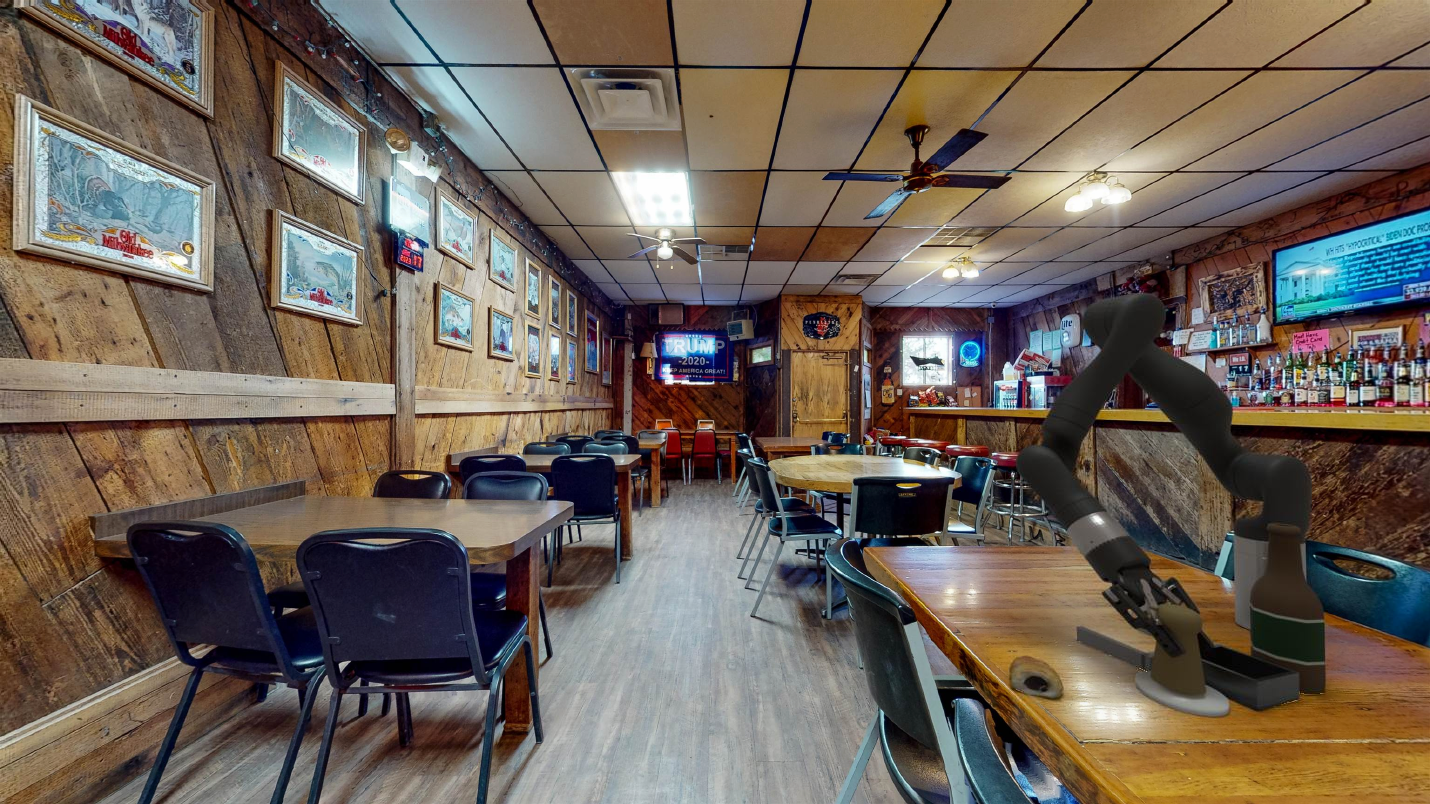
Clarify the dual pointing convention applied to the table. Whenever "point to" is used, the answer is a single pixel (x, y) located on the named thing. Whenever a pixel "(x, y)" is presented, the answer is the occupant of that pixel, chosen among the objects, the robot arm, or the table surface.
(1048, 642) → the table surface
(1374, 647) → the table surface
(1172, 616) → the cork
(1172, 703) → the saucer
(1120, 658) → the grey u-shaped frame
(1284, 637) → the beer bottle
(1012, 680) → the pastry
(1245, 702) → the open storage bin
